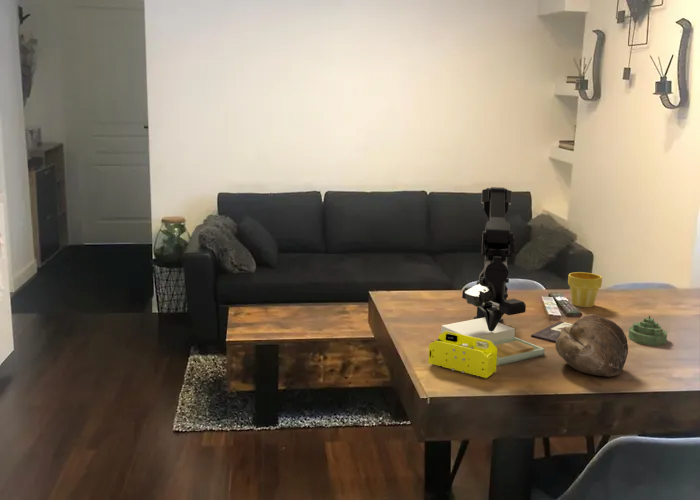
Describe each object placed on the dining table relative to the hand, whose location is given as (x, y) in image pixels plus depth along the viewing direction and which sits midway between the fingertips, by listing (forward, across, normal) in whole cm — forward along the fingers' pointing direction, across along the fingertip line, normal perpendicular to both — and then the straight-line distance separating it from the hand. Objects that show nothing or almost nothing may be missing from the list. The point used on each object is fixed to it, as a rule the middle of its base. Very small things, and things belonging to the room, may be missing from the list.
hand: (491, 330), depth 203 cm
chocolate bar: (+5, +1, +26) cm, 26 cm away
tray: (+4, +6, 0) cm, 8 cm away
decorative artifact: (+5, +17, +43) cm, 47 cm away
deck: (+4, -5, 0) cm, 7 cm away
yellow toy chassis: (+5, +10, -18) cm, 21 cm away
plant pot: (+5, -16, +55) cm, 57 cm away
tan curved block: (+2, +8, 0) cm, 8 cm away
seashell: (+5, +24, +11) cm, 27 cm away
